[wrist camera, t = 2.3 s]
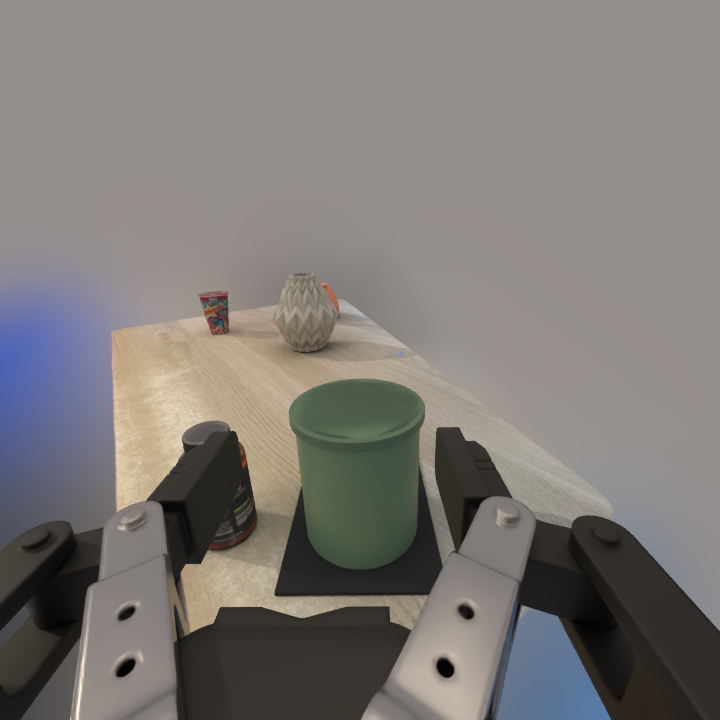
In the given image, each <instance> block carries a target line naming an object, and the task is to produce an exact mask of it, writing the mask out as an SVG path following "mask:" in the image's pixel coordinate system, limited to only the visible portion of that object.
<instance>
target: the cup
mask: <svg viewBox="0 0 720 720" xmlns="http://www.w3.org/2000/svg"><path fill="white" fill-rule="evenodd" d="M227 294H228V292H221V291H220V292H208V293H202V294H199V295H198V296H199V297H200V300H201V303H202V307H203V310H204V313H205V316H206V319H207V322H208V325H209V328H210V331H211V334H215V335H218V334H225V333H227V332H229V320H228V296H227Z"/></svg>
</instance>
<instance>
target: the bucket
mask: <svg viewBox="0 0 720 720" xmlns="http://www.w3.org/2000/svg"><path fill="white" fill-rule="evenodd" d="M424 418H425V406H424V402H423V400H422V399H421V397H420V396H419V395H418V394H417V393H415V392H414V391H412V390H411V389H409V388H407V387H405V386H403V385H400V384H397V383H393V382H389V381H384V380H376V379H347V380H340V381H334V382H330V383H326V384H323V385H319V386H317V387H314V388H312V389H310V390H308V391H306V392H304V393H303V394H301V395H300V396H299V397H298V398H296V399H295V400H294V402H293V403H292V405H291V407H290V409H289V420H290V426H291V428H292V430H293V431H294V433H295V434H296V439H297V448H298V456H299V465H300V474H301V483H302V491H303V500H304V509H305V517H306V526H307V535H308V538H309V541H310V543H311V545H312V546H313V548H314V549H315V551H316V552H317V553H318V554H319V555H320V556H321V557H323V558H324V559H325V560H327V561H329V562H331V563H332V564H335V565H337V566H340V567H344V568H348V569H373V568H377V567H381V566H384V565H386V564H389V563H391V562H393V561H394V560H396V559H397V558H399V557H400V556H402V555H403V554H404V553H405V552H406V551H407V550H408V548H409V547H410V546H411V544H412V542H413V541H414V538H415V536H416V532H417V514H418V473H419V433H420V428H421V426H422V424H423V422H424Z"/></svg>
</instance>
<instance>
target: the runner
mask: <svg viewBox="0 0 720 720" xmlns="http://www.w3.org/2000/svg"><path fill="white" fill-rule="evenodd" d="M442 568H443V567H442V563H441V559H440V554H439V550H438V545H437V541H436V537H435V532H434V528H433V523H432V519H431V515H430V510H429V506H428V501H427V497H426V493H425V488H424V484H423V480H422V475H421V471H420V466H419V473H418V514H417V532H416V536H415V538H414V541H413V542H412V544H411V546H410V547H409V548H408V550H407V551H406V552H405V553H404V554H403V555H402V556H400V557H399V558H397V559H396V560H394V561H393V562H391V563H389V564H386V565H384V566H381V567H377V568H373V569H348V568H344V567H340V566H337V565H335V564H332V563H331V562H329V561H327V560H325V559H324V558H323V557H321V556H320V555H319V554H318V553H317V552H316V551H315V549H314V548H313V546H312V545H311V543H310V541H309V538H308V535H307V526H306V517H305V509H304V500H303V491H302V487H301V491H300V495H299V499H298V503H297V507H296V511H295V515H294V519H293V523H292V526H291V530H290V534H289V538H288V542H287V546H286V550H285V554H284V558H283V562H282V566H281V570H280V574H279V578H278V582H277V586H276V590H275V596H297V595H395V594H430V592H431V590H432V588H433V586H434V584H435V582H436V580H437V578H438V576H439V574H440V572H441V570H442Z"/></svg>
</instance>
